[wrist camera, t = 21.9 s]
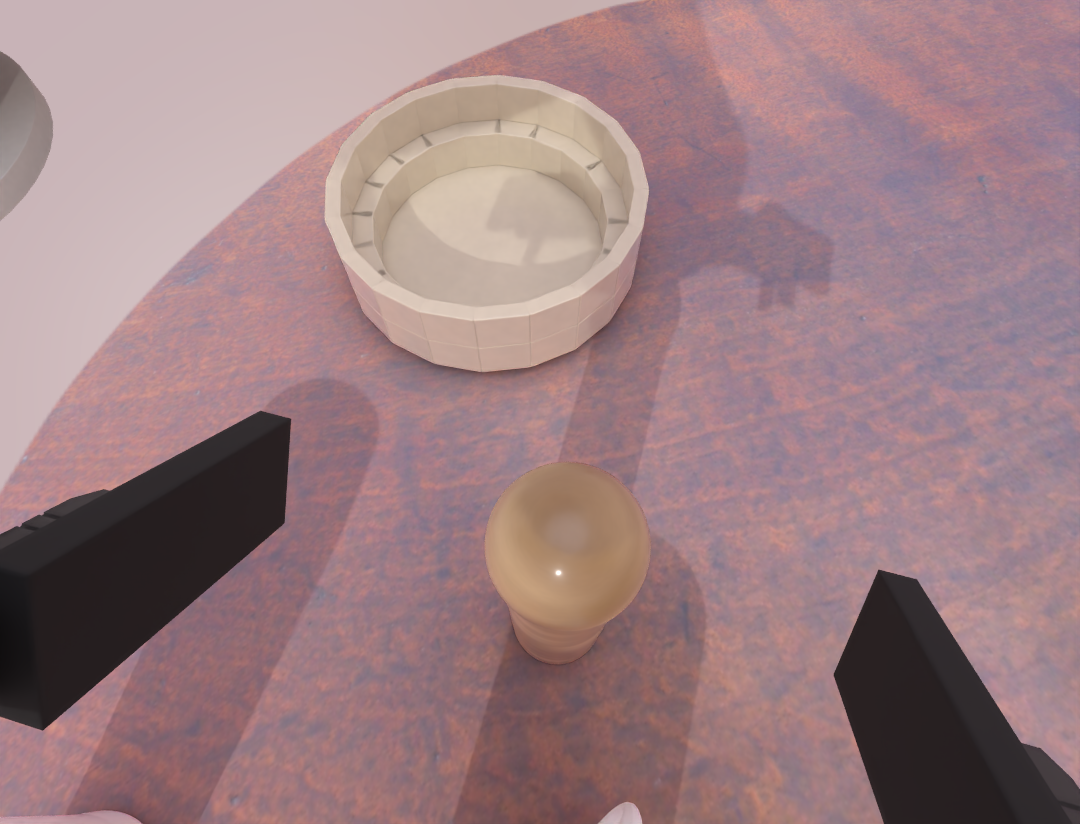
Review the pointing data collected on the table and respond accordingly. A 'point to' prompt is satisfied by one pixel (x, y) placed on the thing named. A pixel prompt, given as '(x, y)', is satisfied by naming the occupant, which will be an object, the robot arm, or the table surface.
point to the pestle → (566, 556)
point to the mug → (623, 815)
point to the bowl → (488, 220)
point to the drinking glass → (75, 818)
